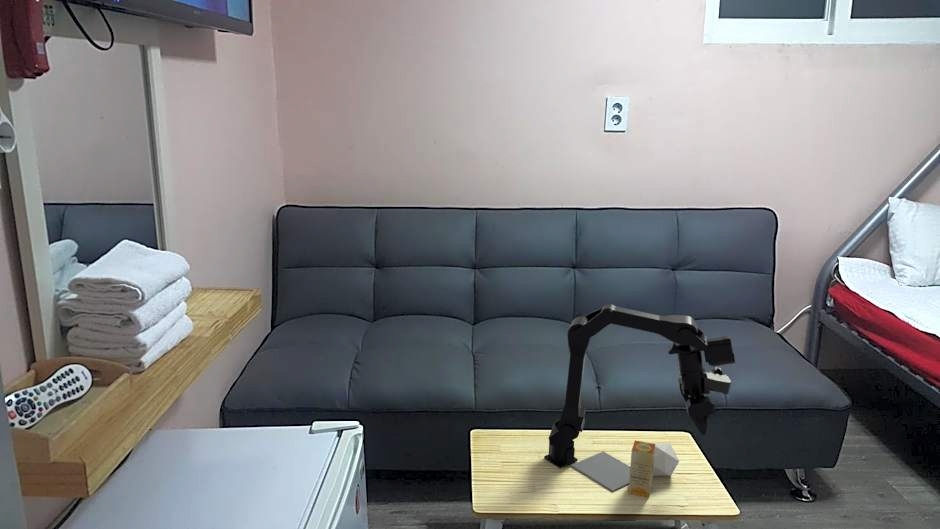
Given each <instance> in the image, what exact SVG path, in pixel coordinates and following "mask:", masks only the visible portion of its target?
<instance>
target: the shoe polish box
mask: <svg viewBox="0 0 940 529" xmlns="http://www.w3.org/2000/svg"><path fill="white" fill-rule="evenodd" d="M654 454H655V444H652V442H645V441H641V440H636V439H635V440H634V441H633V445H632V449H631V456H630V480H629V484H628V495H632V496H638V497H642V498H648V499H650V495H651V492H652V487H653V485H652V484H653V477H654V476H653V465H654Z"/></svg>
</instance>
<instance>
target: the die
mask: <svg viewBox="0 0 940 529" xmlns="http://www.w3.org/2000/svg"><path fill="white" fill-rule="evenodd" d="M651 443H652V442H651ZM652 444H655V454H654V465H653V477H672V475H673V473H674V472H675V469H677V466H678V465H679V462H680V460H679V458H678V456H677V454H676V452H675V449H673V447H672V446H673V445H672V444H671V443H661V442H660V443H658V442H657V443H652Z"/></svg>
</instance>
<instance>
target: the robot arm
mask: <svg viewBox="0 0 940 529" xmlns="http://www.w3.org/2000/svg"><path fill="white" fill-rule="evenodd" d="M609 325H615V326H621V327H625V328H630V329H633V330H639V331H643V332H646V333H652V334H656V335H659V336H661V337H663V338H665V339H666V340H668V341H670V342H672V343H671V344H670V346H668V353H667V354H668V355H676V358H677V362H678V374H679V376H680V377H679V378H678V379H677V382H678V383H677V384H678V388H679V391H680V394H681V396H682V397H683V399H684V401H685V407H686V412H687V414H688V417H689V418H690V420H691V421H692V423H693V424H694V425H695V428H696V429H697V430H698V432H699V433H700V434H701V435H702V436H704V435H705V436H706V435H707V430H708V423H709V422H708V421H709V417H710V416H712V415H714V414H716V413H717V412H716V406H715V403H714V401H713V398H711V397H710V396H705V395H709V394H711V392H715V393H719V394H720V393H721V394H723V395H729V394H730V393H729V392H730V389H731V384H732V380H731V379H730V377H729V376H728V375H727V374H726V373H725V374H724V373H723V370H722V368H721V367H720V366H731V365H736V359H735V353H734V348H733V345H732V338H731V336H730V335H726V336H725V335H724V336H722V337H713V338H708V336H707V334H706V333H705V332H703V331H702V330H701V329H700V328H699V327H698V324H697V322H696V320H695V319H694V318H693V317H692V316H689V315H683V314H679V315H678V314H670V315H659V314H653V313H649V312H645V311H639V310H635V309H630V308H625V307H620V306H617V305H614V304H611V303H610V304H609V303H607V304H604V305H603V306H602V307H600V308H598V309H596V310H594V311H591V312H590V313H588V314H586V315H583V316H577V317H575V318H574V319H573V320H572V321H571V323H570V326H569V328H568V330H567V344H568V345H567V346H568V350H569V351H568V352H569V362H568V364H569V365H568V371H567V382H566V383H567V384H566V389H565V390H566V392H565V398H564V400H565V401H564V406H563V409H562V412H561V416H560V418H559V419H558V420H556V421H555V422H554V423H553V425H552V428H551V431H550V433H549V435H548V441H549V442H548V454H545V455H544V459H545V460H546V461H548V462H549V463H551V464H552V465H554V466H556V467H558V468H559V469H562V468H564V467H567V466H569V465H573V464H575V463H577V462H578V458H577V457H575V452H576V451H575V450H576V449H575V441H574V440H576V439H577V438H579V435H580V433H583V431H584V427H585V422H586V419H585V416H586V411H587V407H582V405H581V404H582V403H581V397H582V387H583V379H584V373H585V372H584V371H585V362H586V353H587V352H588V351H587V350H588V347H589V344H590V341H591V338H592V337H594V336H595V335H597V334H599V333H600V331H602V330H603V329H605V328H607V326H609ZM702 352H703V353H704V354H703V355H704V360H705V363H708V366H710V367H713V369H712V370H711V371H708V372H706V369H705V367H704V361H703V355H702Z"/></svg>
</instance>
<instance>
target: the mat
mask: <svg viewBox="0 0 940 529" xmlns="http://www.w3.org/2000/svg"><path fill="white" fill-rule="evenodd" d="M570 465H571V467H572V468H573V469H575V470H577V471H578V472H579V473H582V474H583V475H584V476H586V477H588V478H589V479H591V480H593V481H594V482H596V483H597V484H599V485H601V486H602V487H604V488H606V489H607V490H608V491H611V492H612V493H613V492H616V491H618V490H619V489H622V488H624V487H626V486H629V480H630V467H631V465H628V464H626V462H623V461H621V459H617V458H616V457H615V456H612V455H610V454H608V453H607V452H606V451H601V452H598V453H596V454H594V455H592V456H589V457H587V458H585V459H582V460H580V461H576V462H574V463H572V464H570Z"/></svg>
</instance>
